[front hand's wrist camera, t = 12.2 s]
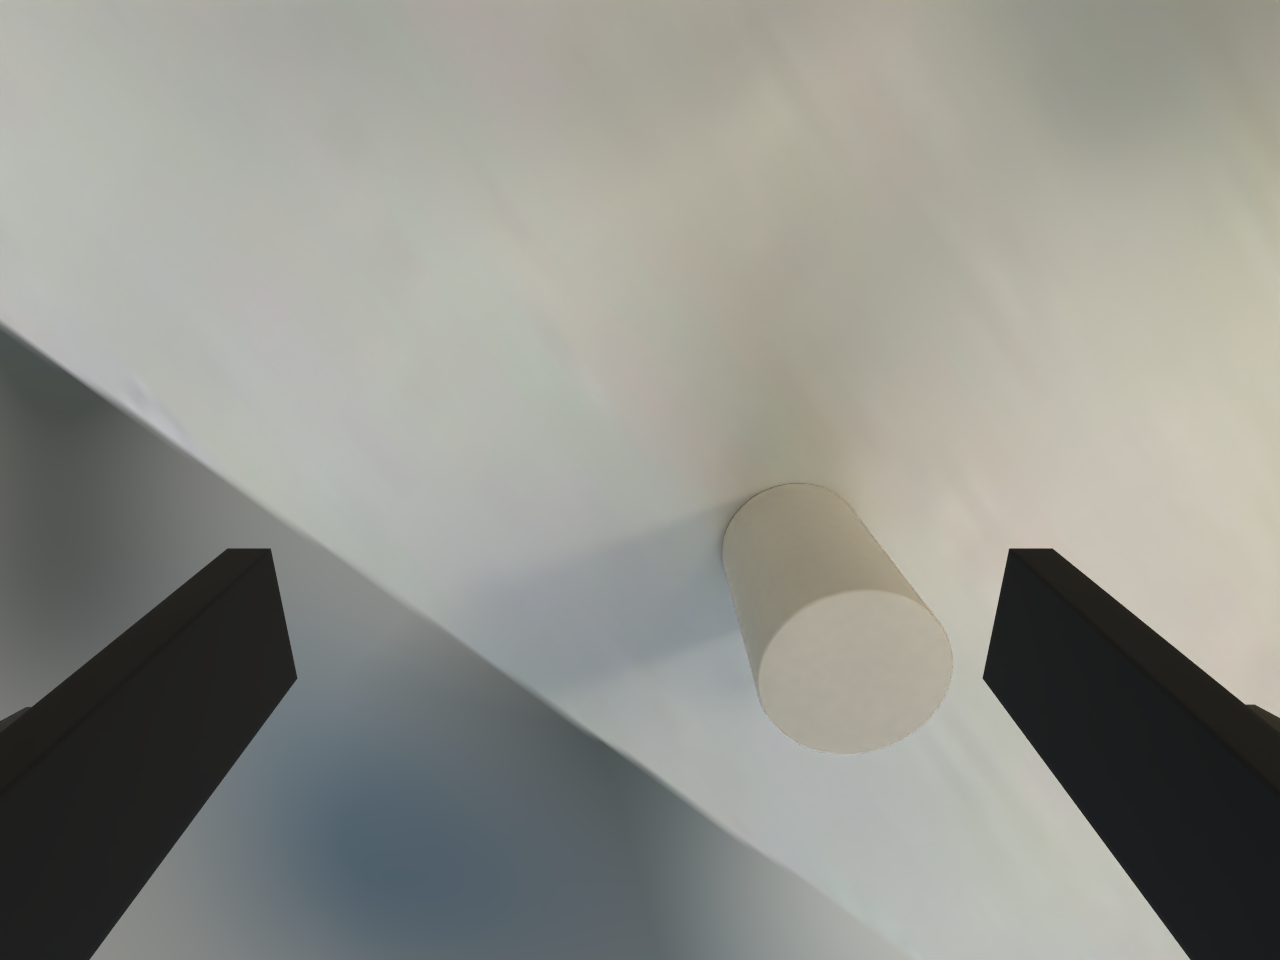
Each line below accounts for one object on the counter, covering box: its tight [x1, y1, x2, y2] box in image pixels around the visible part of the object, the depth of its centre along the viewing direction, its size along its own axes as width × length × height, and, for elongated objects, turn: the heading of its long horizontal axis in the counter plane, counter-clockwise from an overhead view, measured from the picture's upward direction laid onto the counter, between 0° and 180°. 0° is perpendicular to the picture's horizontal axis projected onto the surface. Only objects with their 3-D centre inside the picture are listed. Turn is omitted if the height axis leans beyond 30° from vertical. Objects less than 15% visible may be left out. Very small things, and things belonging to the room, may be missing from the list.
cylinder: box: [722, 483, 953, 755], centre depth 28 cm, size 7×7×10 cm
